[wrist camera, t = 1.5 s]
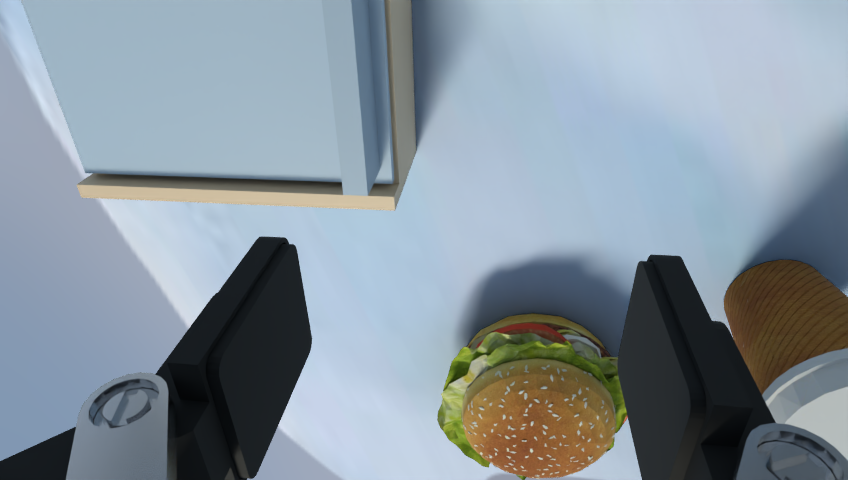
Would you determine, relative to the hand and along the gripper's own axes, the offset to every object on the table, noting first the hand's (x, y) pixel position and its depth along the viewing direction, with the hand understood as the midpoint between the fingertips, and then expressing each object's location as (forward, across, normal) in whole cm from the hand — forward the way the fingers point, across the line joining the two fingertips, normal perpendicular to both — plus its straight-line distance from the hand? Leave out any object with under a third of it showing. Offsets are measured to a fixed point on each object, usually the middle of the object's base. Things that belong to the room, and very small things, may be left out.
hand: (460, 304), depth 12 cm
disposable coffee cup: (+24, -20, +16) cm, 35 cm away
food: (+24, -4, +24) cm, 35 cm away
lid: (+17, +14, 0) cm, 22 cm away
